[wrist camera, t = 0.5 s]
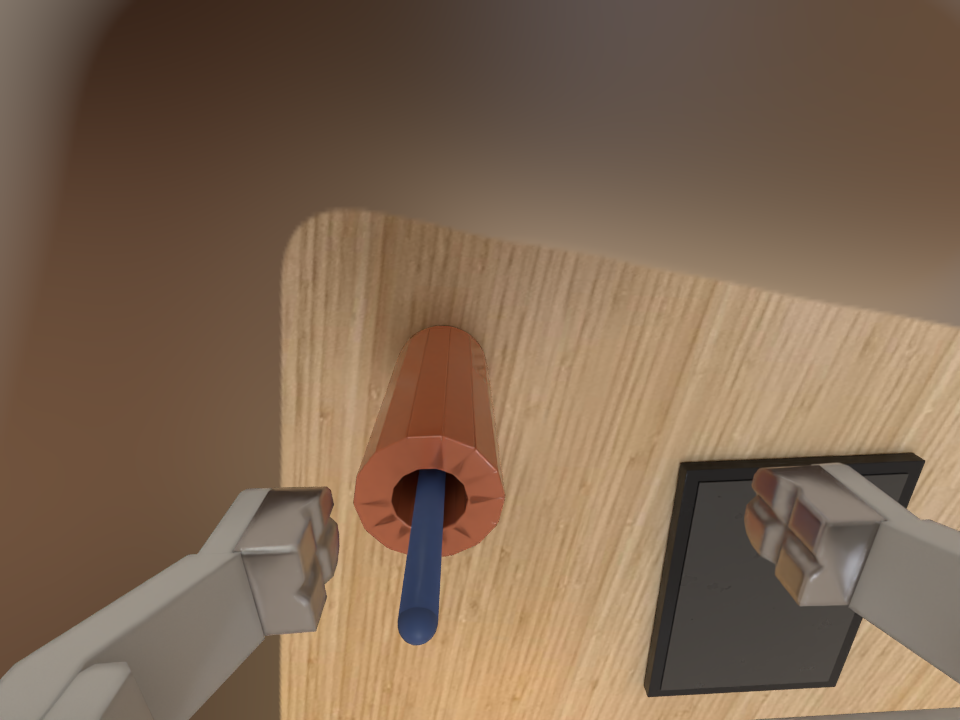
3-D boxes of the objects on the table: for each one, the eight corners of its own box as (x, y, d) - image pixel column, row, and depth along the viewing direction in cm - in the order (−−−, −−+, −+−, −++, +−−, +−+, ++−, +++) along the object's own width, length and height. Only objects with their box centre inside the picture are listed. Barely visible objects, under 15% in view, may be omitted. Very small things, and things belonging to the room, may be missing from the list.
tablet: (680, 462, 33) (687, 471, 32) (913, 452, 33) (927, 461, 32) (643, 685, 42) (648, 698, 41) (827, 675, 42) (836, 688, 41)
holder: (393, 326, 28) (343, 439, 16) (486, 323, 28) (505, 433, 16) (401, 407, 30) (362, 561, 18) (488, 404, 30) (505, 554, 18)
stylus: (433, 363, 29) (393, 626, 12) (450, 362, 29) (436, 624, 12) (434, 379, 29) (396, 656, 12) (451, 378, 29) (438, 653, 12)
